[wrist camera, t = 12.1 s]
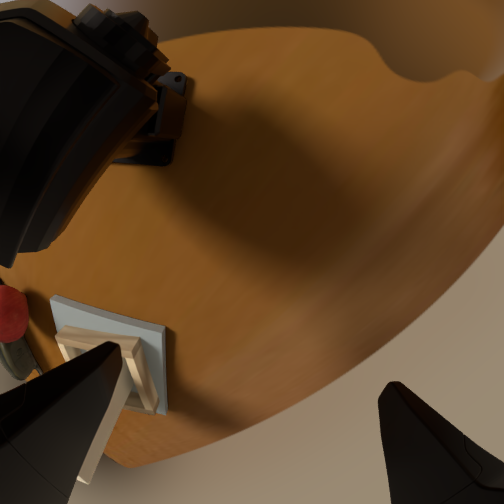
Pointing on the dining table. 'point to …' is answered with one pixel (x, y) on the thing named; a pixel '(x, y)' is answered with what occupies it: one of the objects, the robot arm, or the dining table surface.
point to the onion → (12, 314)
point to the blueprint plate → (119, 324)
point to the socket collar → (131, 350)
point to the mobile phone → (18, 358)
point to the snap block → (107, 424)
